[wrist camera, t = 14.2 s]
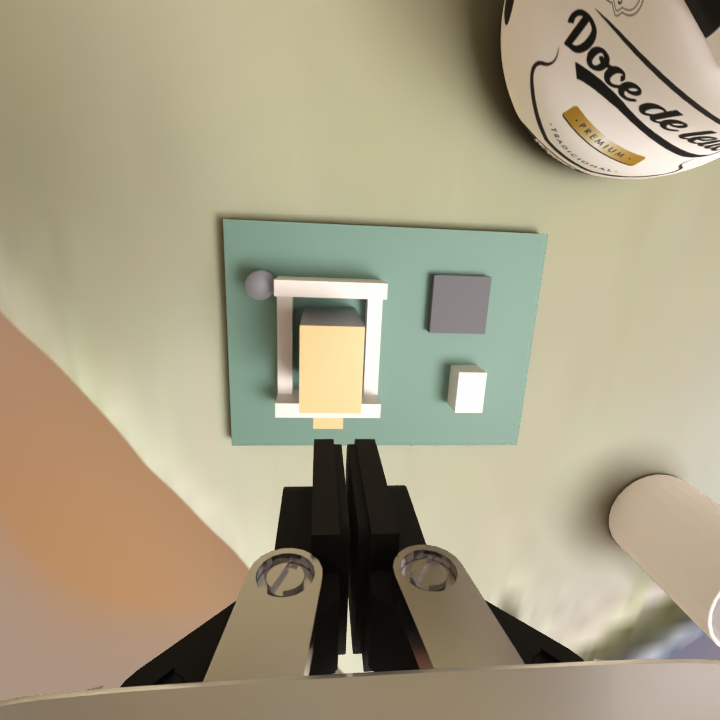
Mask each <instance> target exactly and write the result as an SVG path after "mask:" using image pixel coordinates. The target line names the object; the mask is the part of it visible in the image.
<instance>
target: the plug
mask: <svg viewBox="0 0 720 720" xmlns="http://www.w3.org/2000/svg"><path fill="white" fill-rule="evenodd" d="M364 339H365V326H364V324H363V322H362V320H361V318H360V316H359V315H358V313H357V311H356V309H355V308H345V307H312V306H304V310H303V314H302V318H301V322H300V353H299V413H361V404H362V382H363V361H364Z"/></svg>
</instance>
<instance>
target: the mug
mask: <svg viewBox="0 0 720 720" xmlns="http://www.w3.org/2000/svg"><path fill="white" fill-rule="evenodd" d="M609 528H610V531H611V534H612V537H613V538H614V540H615V541H616V543H617V544H618V545H619V546H620V547H621V548H622V549H623V550H624V551H625V552H626V553H627V554H628V555H629V556H630V557H631V558H632V559H633V560H634V561H635V562H636V563H637V564H638V565H639V566H640V567H641V568H642V569H643V570H644V571H645V572H646V573H647V574H648V575H649V576H650V577H651V578H652V579H653V581H654V582H655V583H656V584H657V585H658V586H659V587H660V588H661V589H662V590H663V591H664V592H665V593H666V594H667V595H668V596H669V597H670V598H671V599H672V600H673V601H674V602H675V603H676V604H677V605H678V606H679V607H680V608H681V609H682V610H683V611H684V612H685V613H686V614H687V615H688V616H689V617H690V618H691V619H692V620H693V621H694V622H695V623H696V624H697V625H698V626H699V627H700V628H701V629H702V630H703V631H704V632H705V633H706V634H707V635H708V636H709V637H710V638H711V639H712V640H713V642H714V643H716V644H717V645H718V646H719V647H720V505H719V504H717V503H716V502H714V501H713V500H711V499H710V498H708V497H707V496H705V495H704V494H702V493H701V492H699V491H698V490H696V489H694V488H693V487H691V486H690V485H688V484H687V483H685V482H684V481H682V480H681V479H679V478H676V477H673V476H670V475H659V474H657V475H651V476H646V477H644V478H641V479H639V480H637V481H635V482H633V483H632V484H630V485H629V486H627V487H626V488H625V489H624V490H623V491H622V492H621V493H620V494H619V495H618V496H617V498H616V500H615V502H614V503H613V505H612V507H611V511H610V514H609Z"/></svg>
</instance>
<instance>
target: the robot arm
mask: <svg viewBox="0 0 720 720" xmlns="http://www.w3.org/2000/svg"><path fill="white" fill-rule="evenodd" d="M348 598H349V611H350V624H351V636H352V649H353V654H361V653H362V659H363V669H364V672H367V673H349V674H333V673H335V671H336V670H337V666H338V655H341V654H345V653H346V632H347V609H348ZM368 671H374V672H368ZM0 720H720V661H716V660H702V659H641V660H616V661H603V660H597V659H594V661H589V662H585V661H584V660H583V659H582V658H581V657H579V656H578V655H577V654H575V653H574V652H572V651H571V650H570V649H568V648H566V647H565V646H563V645H561V644H560V643H558V642H556V641H554V640H553V639H551V638H549V637H548V636H546V635H544V634H542V633H541V632H539V631H537V630H535V629H534V628H532V627H530V626H529V625H527V624H525V623H523V622H522V621H520V620H518V619H517V618H515V617H513V616H511V615H510V614H508V613H506V612H504V611H503V610H501V609H499V608H498V607H496V606H494V605H492V604H491V603H489V602H487V601H486V600H484V598H483V597H482V595H481V594H480V592H479V591H478V589H477V587H476V586H475V584H474V583H473V581H472V579H471V578H470V576H469V575H468V573H467V572H466V570H465V568H464V567H463V565H462V564H461V563H460V561H459V560H458V559H457V558H456V557H455V556H454V555H452V554H451V553H449V552H448V551H446V550H444V549H441V548H439V547H436V546H431V545H426V543H425V540H424V537H423V534H422V531H421V528H420V525H419V522H418V519H417V517H416V514H415V511H414V508H413V505H412V502H411V499H410V496H409V493H408V490H407V488H406V486H404V485H396V486H387V483H386V479H385V475H384V472H383V468H382V464H381V460H380V457H379V453H378V449H377V445H376V442H375V439H355V441H354V444H347V458H346V485H345V475H344V465H343V455H342V445H341V444H334V439H314V459H313V487H284V489H283V495H282V502H281V509H280V516H279V523H278V530H277V537H276V544H275V550H274V551H271V552H269V553H267V554H265V555H263V556H261V557H260V558H259V559H258V560H257V561H255V562H254V564H253V565H252V567H251V568H250V570H249V572H248V574H247V577H246V579H245V582H244V584H243V587H242V589H241V591H240V593H239V596H238V598H237V601H235V602H234V603H233V604H231V605H230V606H228V607H227V608H225V609H224V610H223V611H221V612H220V613H218V614H217V615H215V616H214V617H213V618H211V619H210V620H208V621H207V622H206V623H204V624H203V625H201V626H200V627H199V628H197V629H196V630H194V631H193V632H191V633H190V634H188V635H187V636H186V637H184V638H183V639H181V640H180V641H179V642H177V643H176V644H174V645H173V646H171V647H170V648H169V649H167V650H166V651H164V652H163V653H162V654H160V655H159V656H157V657H156V658H154V659H153V660H152V661H150V662H149V663H147V664H146V665H145V666H143V667H142V668H140V669H139V670H137V671H136V672H135V673H134V674H133V675H132V676H130V677H129V678H128V679H127V680H126V681H125V682H124V683H123V684H122V685H121V687H120V688H104V686H100V687H96V688H92V689H88V690H84V691H74V692H65V693H54V694H44V695H34V696H24V697H20V698H13V699H8V700H2V701H0Z"/></svg>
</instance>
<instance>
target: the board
mask: <svg viewBox="0 0 720 720" xmlns="http://www.w3.org/2000/svg"><path fill="white" fill-rule="evenodd" d="M223 231H224V256H225V282H226V307H227V333H228V358H229V384H230V409H231V435H232V446H242V445H314V439H334V444H341V445H347V444H354V441H355V439H375V442H376V445H517V441H518V435H519V428H520V421H521V414H522V408H523V401H524V394H525V387H526V381H527V374H528V367H529V360H530V354H531V347H532V340H533V333H534V327H535V320H536V313H537V306H538V300H539V293H540V286H541V280H542V273H543V266H544V259H545V253H546V246H547V239H548V234H534V233H512V232H491V231H469V230H448V229H427V228H405V227H384V226H362V225H341V224H320V223H298V222H277V221H255V220H234V219H223ZM304 306H312V307H345V308H355V309H356V311H357V313H358V315H359V316H360V318H361V320H362V322H363V324H364V326H365V339H364V361H363V382H362V404H361V413H299V353H300V322H301V318H302V314H303V310H304Z"/></svg>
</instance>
